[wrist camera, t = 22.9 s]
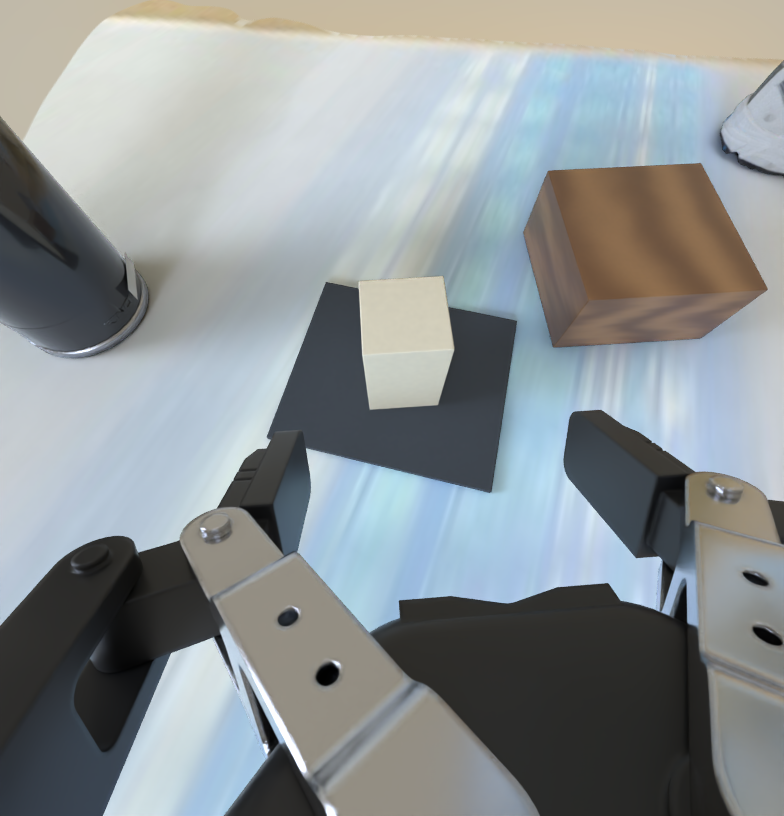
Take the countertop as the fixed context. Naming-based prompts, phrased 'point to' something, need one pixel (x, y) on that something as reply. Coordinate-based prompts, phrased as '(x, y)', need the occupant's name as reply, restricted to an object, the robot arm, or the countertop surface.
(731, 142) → the athletic shoe
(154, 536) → the countertop surface
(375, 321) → the cream box
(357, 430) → the rubber mat
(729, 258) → the brown box
